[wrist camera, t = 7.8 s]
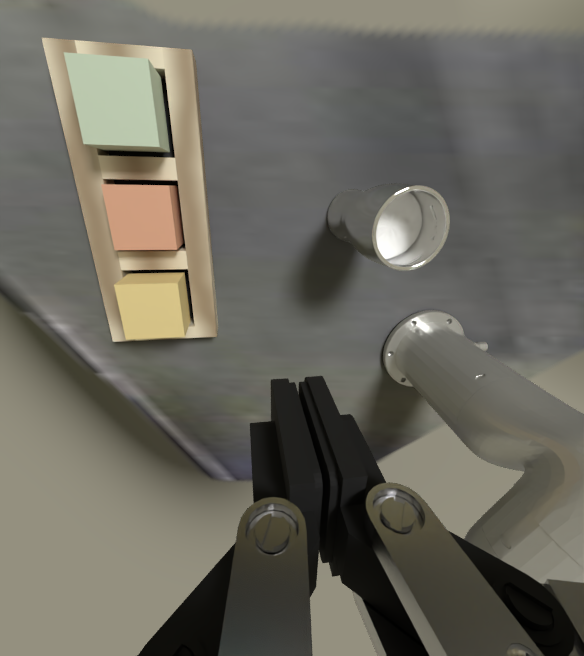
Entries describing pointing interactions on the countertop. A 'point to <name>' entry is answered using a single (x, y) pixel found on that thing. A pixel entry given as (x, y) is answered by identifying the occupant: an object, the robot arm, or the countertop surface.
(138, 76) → the sage button
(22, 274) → the countertop surface
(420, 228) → the beer glass
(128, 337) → the ochre button
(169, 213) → the terracotta button
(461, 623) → the robot arm
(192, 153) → the button board
